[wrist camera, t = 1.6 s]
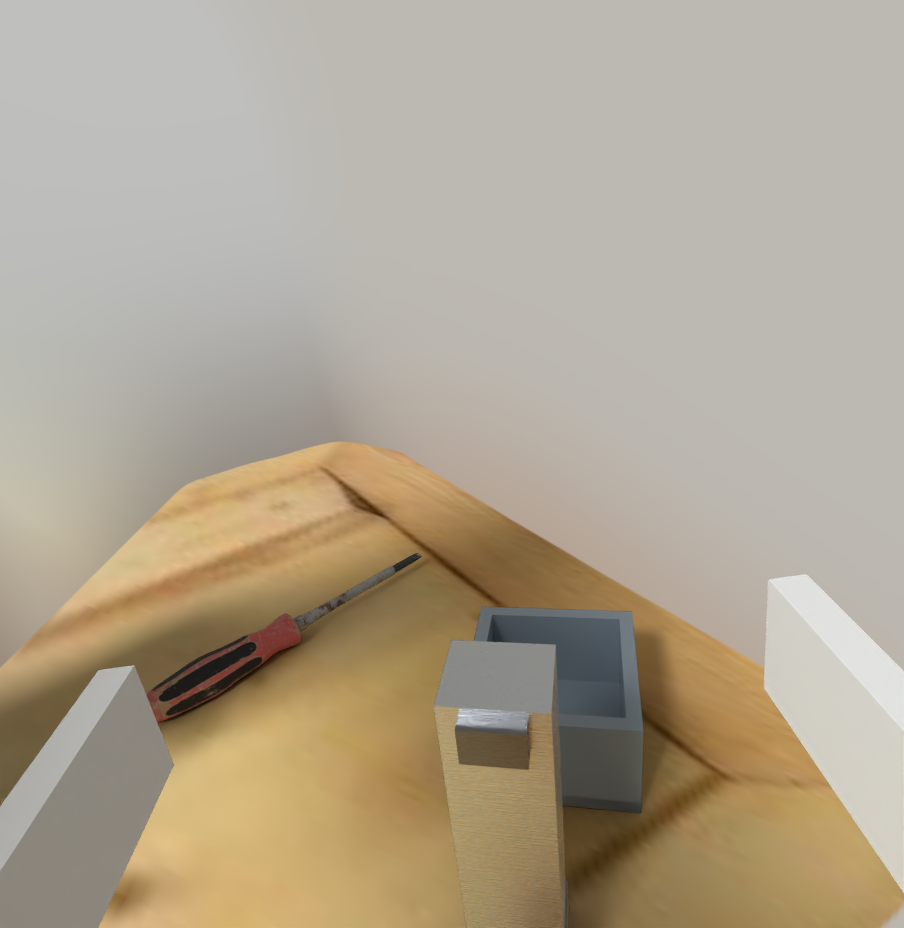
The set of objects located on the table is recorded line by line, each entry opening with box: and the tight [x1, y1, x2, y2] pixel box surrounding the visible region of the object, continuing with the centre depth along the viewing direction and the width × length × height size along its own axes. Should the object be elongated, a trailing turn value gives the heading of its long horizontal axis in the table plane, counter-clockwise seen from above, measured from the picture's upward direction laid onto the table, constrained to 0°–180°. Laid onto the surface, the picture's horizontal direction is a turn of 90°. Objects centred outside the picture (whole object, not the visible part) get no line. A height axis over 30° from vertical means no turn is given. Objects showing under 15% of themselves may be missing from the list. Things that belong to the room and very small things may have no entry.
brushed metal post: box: [434, 640, 569, 928], centre depth 27 cm, size 4×4×16 cm
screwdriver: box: [146, 553, 422, 722], centre depth 51 cm, size 25×3×3 cm, turn 133°
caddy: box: [474, 607, 644, 813], centre depth 39 cm, size 10×10×6 cm
